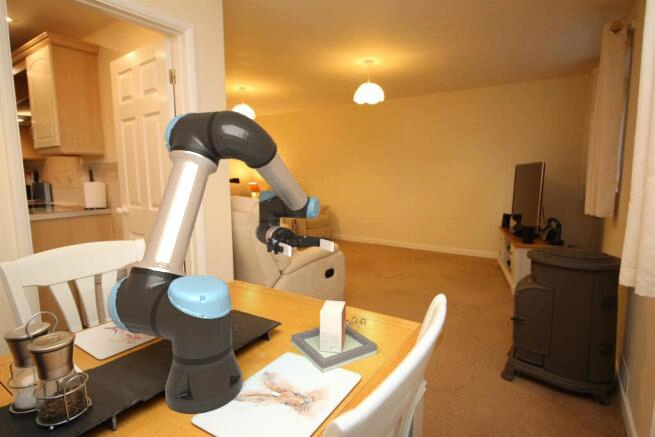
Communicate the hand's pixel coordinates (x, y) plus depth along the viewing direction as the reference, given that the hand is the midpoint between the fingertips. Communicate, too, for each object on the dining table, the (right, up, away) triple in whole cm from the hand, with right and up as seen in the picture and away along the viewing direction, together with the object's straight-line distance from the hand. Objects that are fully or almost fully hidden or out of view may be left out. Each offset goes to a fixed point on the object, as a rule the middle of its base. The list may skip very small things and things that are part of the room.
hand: (312, 249), depth 96 cm
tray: (+6, -25, -7) cm, 27 cm away
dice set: (+13, -24, +8) cm, 28 cm away
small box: (+6, -24, -7) cm, 26 cm away
